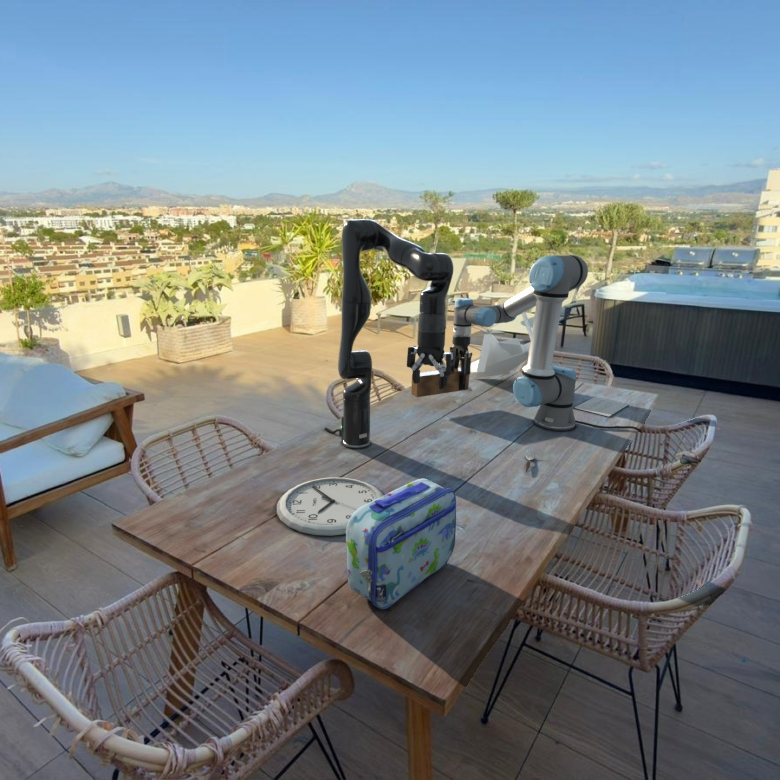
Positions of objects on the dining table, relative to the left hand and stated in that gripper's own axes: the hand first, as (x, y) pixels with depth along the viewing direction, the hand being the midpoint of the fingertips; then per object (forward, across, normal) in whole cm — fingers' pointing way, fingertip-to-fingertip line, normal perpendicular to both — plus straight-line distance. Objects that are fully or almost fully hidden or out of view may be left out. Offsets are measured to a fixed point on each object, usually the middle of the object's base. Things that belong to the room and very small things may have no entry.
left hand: (429, 385), depth 147 cm
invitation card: (+30, +21, +107) cm, 113 cm away
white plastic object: (+30, -25, +112) cm, 118 cm away
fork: (+30, +19, +32) cm, 48 cm away
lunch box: (+30, +21, -41) cm, 55 cm away
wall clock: (+30, -13, -27) cm, 43 cm away
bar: (+25, -35, +65) cm, 78 cm away
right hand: (+24, -31, +73) cm, 83 cm away
